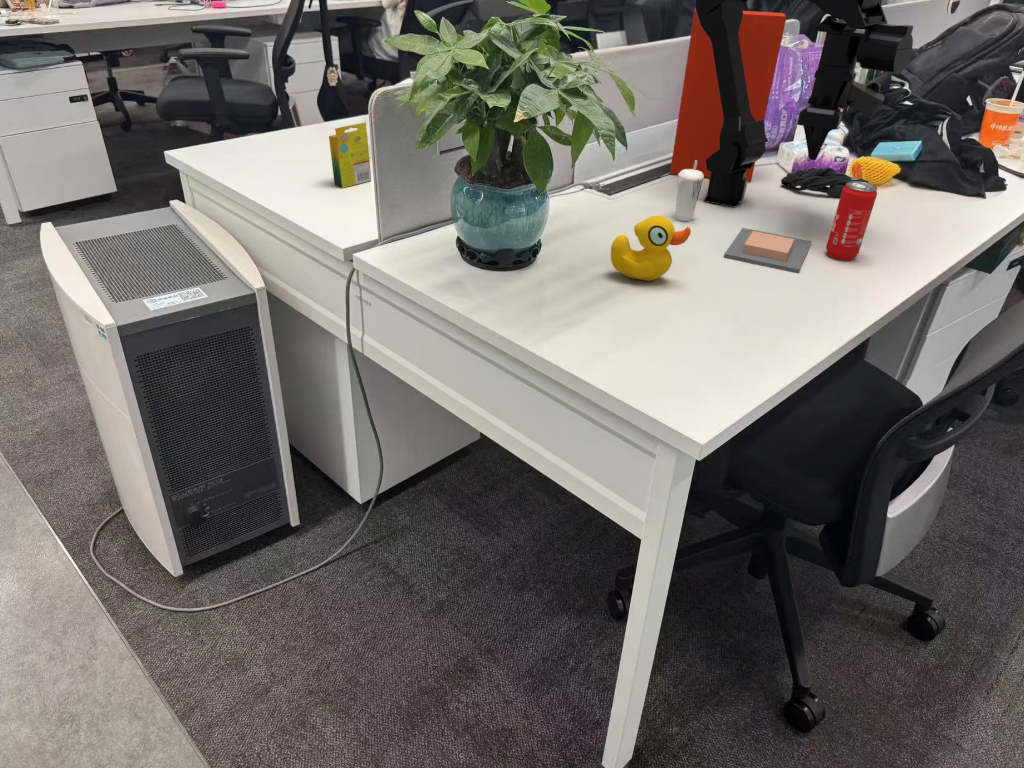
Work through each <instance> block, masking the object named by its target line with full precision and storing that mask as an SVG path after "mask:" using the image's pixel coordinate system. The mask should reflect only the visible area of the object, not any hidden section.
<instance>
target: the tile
mask: <svg viewBox="0 0 1024 768" xmlns="http://www.w3.org/2000/svg"><path fill="white" fill-rule="evenodd" d="M794 240H795V239H792V238H786V237H781V236H776V235H771V234H766V233H761V232H756V231H753V232H752V233H751V235H750V236H749V238H748V239H747V241H746V242H745V244H744V248H743V252H742V253H746V254H751V255H756V256H761V257H766V258H771V259H775V260H780V261H785V262H786V260H787V258H788V256H789V254H790V251H791V249H792V247H793V244H794Z"/></svg>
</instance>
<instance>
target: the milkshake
mask: <svg viewBox="0 0 1024 768" xmlns="http://www.w3.org/2000/svg"><path fill="white" fill-rule="evenodd" d="M697 162H698V161H695V163H694V167H693V169H684V170H682V171H681V172H680V173H679V174H678V175H677V186H676V187H677V188H676V189H677V190H676V199H675V200H676V201H675V211H674V219H676V220H677V221H680V222H692V220H693V219H694V215H695V212H696V207H697V202H698V199H699V194H700V192H701V188H702V184H703V181H704V178H705V177H704V175H703V173H702V172H701V171H698V170H696V166H697Z"/></svg>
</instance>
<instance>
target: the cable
mask: <svg viewBox="0 0 1024 768" xmlns="http://www.w3.org/2000/svg"><path fill="white" fill-rule="evenodd" d="M786 174H787V175H786V176H783V177H782V178H781V180H780V183H781V185H783V186H788V189H789V190H791V191H795V192H796V191H797V192H799V191H812V192H817V193H823V194H827V196H828V197H830V198H833V199H834V198H835V199H840V197H841V193H842V190H843V188H844V187H845V186H846V183H847V182H852V181H857V182H865V183H869V184H870V182H869V181H868V180H867V179H863V178H853V177H851V176H849V175H848V174H843V173H841V172H840V173H838V172H836V170H835V169H833V168H832V167H825V168H816V167H810V168H809V169H807V170H801V169H800V170H796V171H795V172H790V173H786Z"/></svg>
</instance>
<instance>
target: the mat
mask: <svg viewBox="0 0 1024 768" xmlns="http://www.w3.org/2000/svg"><path fill="white" fill-rule="evenodd" d="M753 231H756V232H761V233H766V234H771V235H776V236H781V237H786V238H792V239H795V240H794V244H793V247H792V249H791V251H790V254H789V256H788V258H787V260H786V262H785V261H780V260H775V259H771V258H766V257H761V256H756V255H751V254H746V253H742V252H743V248H744V244H745V242H746V241H747V239H748V238H749V236H750V235H751V233H752V232H753ZM811 246H812V240H809V239H803V238H797V237H793V236H786V235H782V234H778V233H771V232H765V231H761V230H756V229H751V228H745V227H742V228H741V230H740V231H739V233H738V234H737V235H736V237H735V238H734V240H733V241H732V243H731V244H730V245H729V247H728V248H727V249H726V251H725V252H724V254H723V258H725V259H729V260H730V259H731V260H735V261H739V262H740V261H741V262H745V263H749V264H754V265H759V266H764V267H769V268H774V269H778V270H781V271H787V272H791V273H797V274H799V273H800V270H801V268H802V266H803V263H804V261H805V259H806V256H807V254H808V252H809V250H810V248H811Z"/></svg>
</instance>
